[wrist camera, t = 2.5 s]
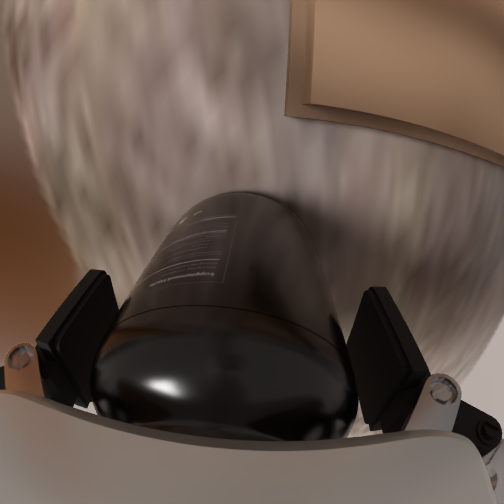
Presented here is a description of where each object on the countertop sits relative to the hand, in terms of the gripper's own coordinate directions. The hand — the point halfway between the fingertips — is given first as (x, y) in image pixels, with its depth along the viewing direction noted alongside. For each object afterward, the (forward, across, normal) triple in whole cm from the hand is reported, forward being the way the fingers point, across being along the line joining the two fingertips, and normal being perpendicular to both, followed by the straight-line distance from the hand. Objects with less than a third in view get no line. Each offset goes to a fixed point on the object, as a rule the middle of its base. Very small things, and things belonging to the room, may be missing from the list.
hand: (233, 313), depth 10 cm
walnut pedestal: (+4, -8, -13) cm, 16 cm away
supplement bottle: (+4, 0, 0) cm, 4 cm away
